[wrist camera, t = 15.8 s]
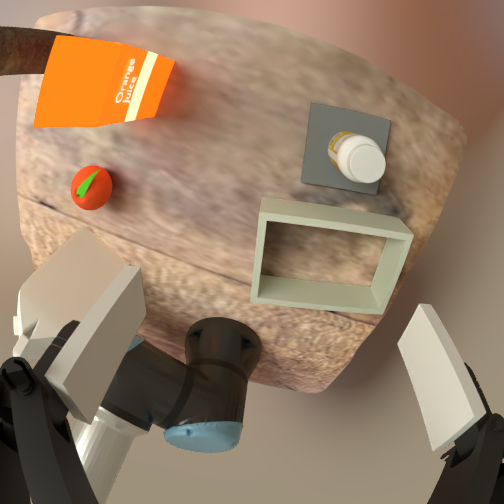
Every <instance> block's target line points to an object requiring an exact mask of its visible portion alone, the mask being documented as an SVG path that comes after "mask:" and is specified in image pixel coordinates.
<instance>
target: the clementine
mask: <svg viewBox="0 0 504 504" xmlns="http://www.w3.org/2000/svg"><path fill="white" fill-rule="evenodd" d="M111 193H112V180H111V177H110V175H109V174H108V172H107V171H106V170H105V169H103V168H101V167H99V166H87V167H84V168H83V169H81V170H80V171H79V172H77V174H76V175H75V177H74V178H73V180H72V183H71V195H72V198H73V200H74V202H75V203H76V205H78V206H79V207H80V208H82V209H84V210H96V209H98V208H100V207H102V206H103V205H104V204H105V203H106V202H107V201H108V200H109V198H110V196H111Z"/></svg>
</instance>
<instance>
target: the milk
mask: <svg viewBox="0 0 504 504" xmlns="http://www.w3.org/2000/svg"><path fill="white" fill-rule="evenodd" d="M129 264H130V263H128V262H127V261H126V260H125V259H123V258H122V257H121V256H120V255H118V254H117V253H116V252H115V251H114V250H112V249H111V248H110V247H109V246H108V245H106V244H105V243H104V242H103V241H102V240H101V239H99V238H98V237H97V236H96V235H95V234H94V233H92V232H91V231H90V230H89V229H88V228H87V227H86V226H84V225H83V226H82V227H81V228H80V229H79V230H78V231H77V232H75V233H74V234H73V235H72V236H71V237H70V238H69V239H68V240H67V241H66V242H64V243H63V244H62V245H61V246H60V247H59V248H58V249H57V250H56V251H55V252H54V253H53V254H52V255H51V256H50V257H49V258H48V259H47V260H46V261H45V262H44V263H43V264H42V265H41V266H40V267H39V268H38V269H37V270H36V271H35V272H34V273H33V274H32V275H31V276H30V277H29V278H28V279H27V280H26V281H25V283H24V284H23V285H22V287H21V289H20V291H19V296H18V310H17V316H14V318H13V320H14V321H13V323H14V334H15V335H19V340H18V341H17V343H16V345H15V347H14V348H13V357H22V358H24V359H25V360H26V361H27V360H28V359H29V360H39V359H40V358H41V357H42V355H43V354H44V352H45V351H46V349H47V348H48V347H49V345H51V343H52V341H53V340H54V338H55V337H57V334H58V333H59V332H60V330H61V329H62V328H63V326H65V325H66V324H68V323H69V322H71V321H72V320H76V321H79V322H81V321H82V320H83V318H84V317H85V316H86V314H87V313H88V312H89V310H90V309H91V308H92V307H93V305H94V304H95V303H96V301H97V300H98V299H99V297H100V296H101V295H102V294H103V292H104V291H105V290H106V289H107V287H108V286H109V285H110V284H111V282H112V281H113V280H114V279H115V277H116V276H117V275H118V274H119V273H120V271H121V270H122V269H123V268H124V267H125V265H129Z"/></svg>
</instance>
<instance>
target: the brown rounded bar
mask: <svg viewBox="0 0 504 504" xmlns="http://www.w3.org/2000/svg"><path fill="white" fill-rule="evenodd" d="M57 35H62V36H72V37H75V36H73V35H71V34H66V33H61V32H55V31H48V30H40V29H31V28H19V27H1V26H0V76H3V75H17V74H45V70H46V66H47V63H48V60H49V56H50V53H51V50H52V47H53V44H54V41H55V39H56V36H57Z"/></svg>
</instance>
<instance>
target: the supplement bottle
mask: <svg viewBox="0 0 504 504" xmlns="http://www.w3.org/2000/svg"><path fill="white" fill-rule="evenodd" d="M328 155H329V158H330V160H331V162H332V163H333V164H334V165H335V166H336V167H337V168H338V169H339V171H340V172H341V173H342V174H343V175H344V176H345V177H347V178H348V179H350V180H352V181H354V182H363V183H373V182H375V181H377V180H378V179H380V178H381V177H382V175H383V173H384V171H385V167H386V162H385V158H384V155H383V154H382V151H381V149H380V147H379V146H378V144H377V143H376V142H375V141H374V140H372V139H370V138H368V137H366V136H363V135H360V134H357V133H354V132H350V131H342V132H339V133H337V134H336V135H334V136H333V137H332V139H331V140H330V142H329V145H328Z"/></svg>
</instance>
